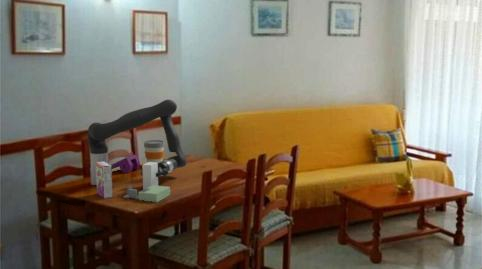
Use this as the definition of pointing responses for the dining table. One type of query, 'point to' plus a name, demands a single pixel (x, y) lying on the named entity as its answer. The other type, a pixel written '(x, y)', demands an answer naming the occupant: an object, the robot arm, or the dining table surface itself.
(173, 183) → the dining table surface
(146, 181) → the tall white pillar block
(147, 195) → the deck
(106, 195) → the candy bar box
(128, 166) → the mounting bracket
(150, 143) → the reusable coffee cup
